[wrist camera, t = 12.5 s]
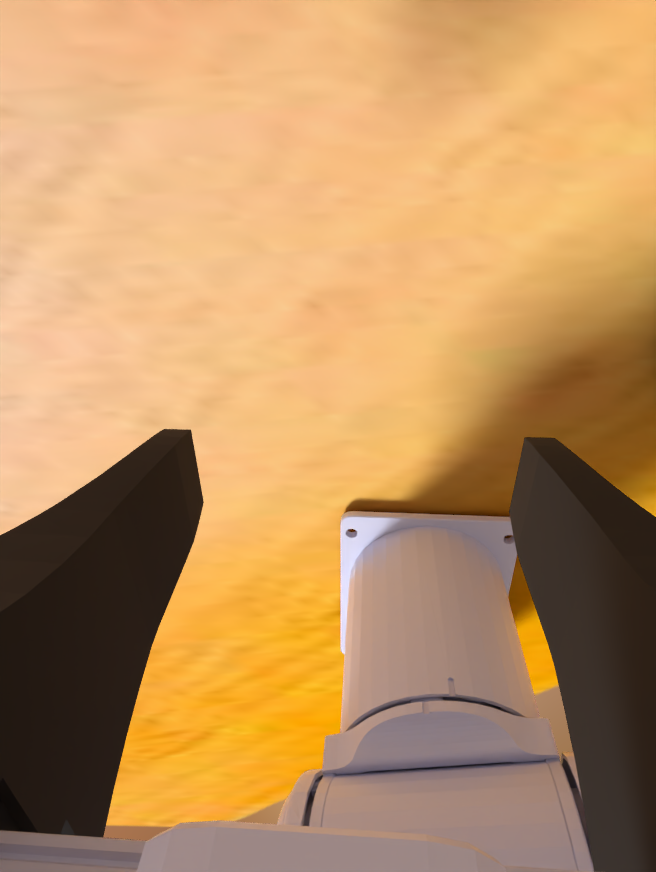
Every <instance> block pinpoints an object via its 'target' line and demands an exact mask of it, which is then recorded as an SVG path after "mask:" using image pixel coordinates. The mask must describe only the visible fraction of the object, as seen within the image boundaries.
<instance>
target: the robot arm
mask: <svg viewBox="0 0 656 872" xmlns="http://www.w3.org/2000/svg"><path fill="white" fill-rule="evenodd" d="M203 503H204V502H203V496H202V491H201V485H200V479H199V473H198V468H197V462H196V456H195V450H194V445H193V439H192V433H191V430H178V429H163V430H162V431H160V432H159V433H157V434H156V435H154V436H153V437H151V438H150V439H149V440H147V441H146V442H145V443H143V444H142V445H141V446H139V447H138V448H136V449H135V450H134V451H132V452H131V453H130V454H128V455H127V456H126V457H124V458H123V459H122V460H120V461H119V462H118V463H116V464H115V465H113V466H112V467H111V468H109V469H108V470H107V471H105V472H104V473H103V474H101V475H100V476H98V477H97V478H95V479H94V480H92V481H91V482H89V483H88V484H86V485H85V486H83V487H82V488H80V489H79V490H77V491H76V492H74V493H73V494H71V495H70V496H68V497H67V498H65V499H64V500H62V501H61V502H59V503H58V504H56V505H54V506H53V507H51V508H49V509H48V510H46V511H44V512H43V513H41V514H39V515H38V516H36V517H34V518H32V519H30V520H28V521H27V522H25V523H23V524H21V525H19V526H17V527H16V528H14V529H12V530H10V531H8V532H6V533H4V534H2V535H0V872H656V517H655V516H653V515H652V514H651V513H649V512H648V511H646V510H645V509H643V508H642V507H641V506H639V505H638V504H637V503H635V502H634V501H633V500H631V499H630V498H629V497H627V496H626V495H625V494H623V493H622V492H621V491H620V490H618V489H617V488H616V487H615V486H613V485H612V484H611V483H610V482H608V481H607V480H606V479H605V478H603V477H602V476H601V475H600V474H598V473H597V472H596V471H595V470H594V469H592V468H591V467H590V466H589V465H588V464H586V463H585V462H584V461H583V460H581V459H580V458H579V457H578V456H577V455H575V454H574V453H573V452H572V451H571V450H569V449H568V448H567V447H566V446H564V445H563V444H562V443H561V442H559V441H558V440H556V439H555V438H531V437H525V439H524V443H523V448H522V453H521V458H520V463H519V467H518V472H517V477H516V482H515V486H514V491H513V496H512V501H511V505H510V510H509V514H510V517H498V516H471V515H444V514H417V513H390V512H363V511H349V512H346V513H344V514H343V515H342V517H341V652H342V653H343V654H345V659H344V676H343V694H342V711H341V729H340V733H339V734H334V735H327V736H326V737H325V745H324V757H323V769H314V770H308V771H305V772H304V773H303V774H302V775H301V776H300V777H299V779H298V780H297V782H296V784H295V785H294V788H293V790H292V791H291V793H290V794H289V796H288V797H287V799H286V800H285V802H284V805H283V807H282V809H281V812H280V815H279V819H278V822H277V824H264V823H249V822H234V821H205V822H189V823H180V824H178V825H176V826H174V827H172V828H170V829H168V830H165V831H163V832H161V833H159V834H157V835H156V836H154V837H153V838H151V839H150V840H148V841H146V840H131V839H116V838H103V835H104V831H105V826H106V822H107V817H108V813H109V808H110V803H111V799H112V794H113V790H114V785H115V781H116V777H117V773H118V769H119V765H120V761H121V757H122V753H123V748H124V744H125V740H126V736H127V732H128V728H129V725H130V721H131V717H132V714H133V710H134V706H135V702H136V699H137V695H138V691H139V688H140V684H141V681H142V677H143V674H144V671H145V667H146V664H147V660H148V657H149V654H150V650H151V647H152V644H153V641H154V638H155V635H156V633H157V630H158V627H159V625H160V622H161V620H162V617H163V615H164V613H165V610H166V608H167V605H168V603H169V601H170V598H171V596H172V593H173V591H174V589H175V586H176V584H177V581H178V579H179V577H180V574H181V572H182V569H183V567H184V564H185V562H186V559H187V557H188V554H189V552H190V549H191V547H192V544H193V542H194V538H195V535H196V531H197V527H198V524H199V519H200V515H201V511H202V507H203ZM348 529H355V530H356V531H355V532H349V531H348ZM507 535H512V537H510V538H504V537H505V536H507ZM517 554H518V558H519V561H520V564H521V567H522V570H523V573H524V576H525V579H526V581H527V584H528V587H529V590H530V593H531V596H532V599H533V602H534V605H535V608H536V610H537V613H538V616H539V619H540V622H541V625H542V628H543V631H544V633H545V636H546V639H547V642H548V645H549V649H550V652H551V655H552V659H553V662H554V666H555V670H556V675H557V679H558V683H559V688H560V692H561V696H562V701H563V705H564V709H565V714H566V719H567V723H568V729H569V733H570V739H571V743H572V748H573V752H562V756H561V762H560V759H559V758H560V757H559V753H558V750H557V746H556V743H555V739H554V736H553V732H552V729H551V725H550V721H549V720H548V719H547V718H540V715H539V712H538V708H537V704H536V700H535V697H534V693H533V689H532V685H531V682H530V678H529V674H528V670H527V667H526V663H525V659H524V655H523V652H522V648H521V644H520V640H519V637H518V633H517V629H516V625H515V622H514V618H513V614H512V610H511V607H510V603H509V599H508V595H509V590H510V586H511V581H512V576H513V572H514V567H515V562H516V558H517Z"/></svg>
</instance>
